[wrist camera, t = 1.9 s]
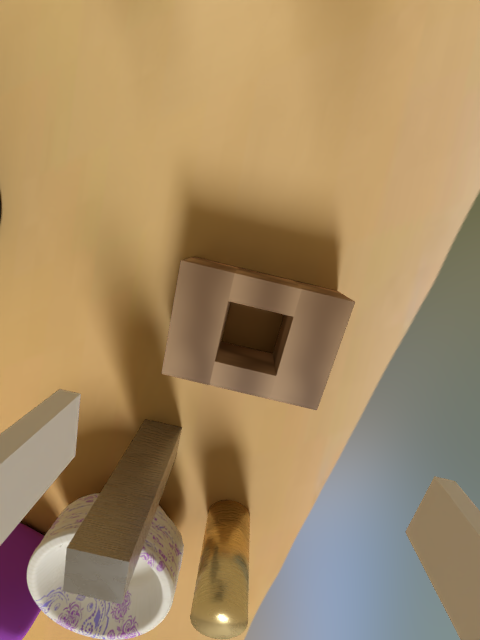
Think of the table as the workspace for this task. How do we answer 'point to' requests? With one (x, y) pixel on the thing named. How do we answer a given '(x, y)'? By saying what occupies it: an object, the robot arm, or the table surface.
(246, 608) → the cylinder
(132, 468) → the square bit
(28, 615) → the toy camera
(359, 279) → the table surface
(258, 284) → the bore block
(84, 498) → the paper bowls
